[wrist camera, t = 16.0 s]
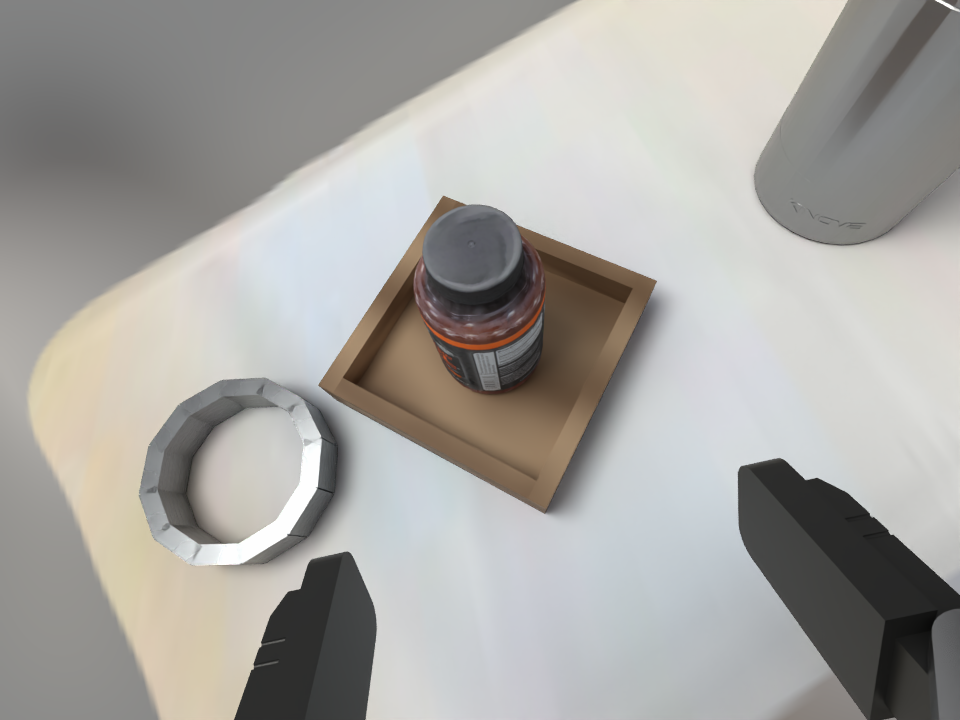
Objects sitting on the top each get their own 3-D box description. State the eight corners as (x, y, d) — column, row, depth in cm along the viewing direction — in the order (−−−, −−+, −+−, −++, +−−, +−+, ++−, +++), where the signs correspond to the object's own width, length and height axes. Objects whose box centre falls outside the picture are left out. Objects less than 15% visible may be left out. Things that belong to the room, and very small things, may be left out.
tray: (450, 224, 36) (443, 195, 33) (646, 304, 32) (656, 280, 29) (337, 400, 32) (318, 385, 29) (544, 513, 28) (545, 508, 26)
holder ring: (240, 365, 33) (218, 351, 31) (368, 437, 31) (355, 427, 29) (137, 508, 31) (104, 504, 28) (269, 600, 28) (245, 603, 26)
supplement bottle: (426, 333, 32) (372, 221, 21) (511, 288, 32) (500, 157, 22) (471, 416, 30) (436, 338, 19) (562, 367, 30) (577, 264, 20)
